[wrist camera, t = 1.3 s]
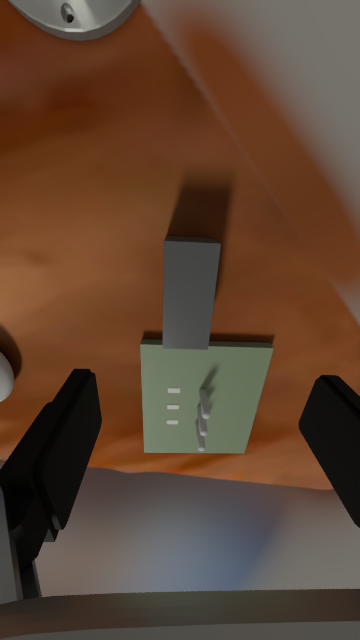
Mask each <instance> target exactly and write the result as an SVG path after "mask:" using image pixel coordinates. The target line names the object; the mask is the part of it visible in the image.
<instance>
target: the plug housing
mask: <svg viewBox="0 0 360 640" xmlns="http://www.w3.org/2000/svg"><path fill="white" fill-rule="evenodd" d="M220 248H221V243H219V242H217V241H216V240H214V239H212V238H205V237H184V236H166V238H165V240H164V285H163V349H199V350H208V345H209V337H210V329H211V321H212V313H213V305H214V297H215V288H216V280H217V272H218V264H219V256H220Z"/></svg>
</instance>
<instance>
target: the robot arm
mask: <svg viewBox="0 0 360 640" xmlns="http://www.w3.org/2000/svg"><path fill="white" fill-rule="evenodd" d="M140 1H141V0H8V2H9V3H10V4H11V5H12V6H13V7H15V8H16V9H17V10H18V11H19V12H20V13H21V14H22V15H23V16H24V17H25V18H26V19H27V20H29V21H30V22H32V23H33V24H35V25H36V26H38V27H39V28H41V29H42V30H44V31H45V32H48V33H50V34H53V35H55V36H57V37H60V38H63V39H69V40H76V41H83V40H92V39H97V38H99V37H102V36H104V35H106V34H109V33H111V32H112V31H114V30H115V29H116V28H118V27H119V26H120V25H121V24H123V23H124V22H125V21H126V20H127V19H128V18H129V16H130V15H131V14H132V12H133V11H134V10H135V9H136V7H137V6H138V5H139V3H140ZM72 19H74V20H73V21H72V22H71V23H70V21H71V20H72ZM101 423H102V417H101V411H100V404H99V397H98V390H97V383H96V377H95V373H91V370H90V369H74V370H73V371H72V372H71V374H70V375H69V377H68V378H67V380H66V381H65V383H64V385H63V386H62V388H61V389H60V391H59V392H58V394H57V395H56V397H55V398H54V400H53V401H52V402H49V403H47V404H46V405H45V406H44V407H43V409H42V410H41V412H40V413H39V414H38V416H37V417H36V419H35V420H34V422H33V423H32V425H31V426H30V427H29V429H28V430H27V432H26V433H25V435H24V436H23V438H22V439H21V440H20V442H19V443H18V445H17V446H16V448H15V449H14V451H13V452H12V454H11V455H10V456H9V458H8V459H7V461H6V462H5V464H4V465H3V467H2V468H1V469H0V640H360V589H311V590H310V589H309V590H249V591H248V590H247V591H197V592H194V591H193V592H152V593H151V592H147V593H112V594H89V595H67V596H50V597H42V594H41V589H40V584H39V580H38V574H37V569H36V564H35V558H36V557H37V556H38V554H39V551H40V549H41V546H42V544H43V542H55V540H56V537H57V534H58V532H59V530H63V529H64V528H65V526H66V524H67V521H68V519H69V516H70V513H71V510H72V507H73V505H74V502H75V499H76V496H77V493H78V490H79V487H80V485H81V482H82V479H83V476H84V473H85V471H86V468H87V465H88V462H89V459H90V456H91V454H92V451H93V448H94V445H95V442H96V439H97V437H98V434H99V431H100V428H101ZM299 429H300V431H301V433H302V435H303V437H304V438H305V440H306V442H307V443H308V445H309V447H310V449H311V450H312V452H313V454H314V455H315V457H316V459H317V460H318V462H319V464H320V466H321V467H322V469H323V471H324V472H325V474H326V476H327V477H328V479H329V481H330V483H331V484H332V486H333V488H334V489H335V491H336V492H337V494H338V496H339V498H340V500H341V501H342V503H343V505H344V506H345V508H346V510H347V511H348V513H349V515H350V517H351V518H352V520H353V521H354V523H355V524H356V525H357V526H358V527H359V528H360V396H359V395H358V394H357V393H355V392H354V391H353V390H352V389H351V388H350V387H349V386H348V385H347V384H346V383H345V382H344V381H343V380H342V379H341V378H340V377H339V376H336V375H321V376H320V377H319V378H318V379H316V381H315V383H314V386H313V388H312V391H311V393H310V395H309V398H308V400H307V403H306V405H305V408H304V410H303V413H302V415H301V418H300V420H299Z"/></svg>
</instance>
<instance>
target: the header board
mask: <svg viewBox="0 0 360 640" xmlns="http://www.w3.org/2000/svg"><path fill="white" fill-rule="evenodd" d="M140 347H141V375H142V403H143V430H144V453H245V450H246V446H247V442H248V439H249V435H250V432H251V428H252V424H253V421H254V417H255V414H256V410H257V407H258V403H259V399H260V396H261V392H262V389H263V385H264V381H265V378H266V374H267V371H268V367H269V363H270V360H271V356H272V353H273V349H274V348H273V346H272V345H271V344H270V343H258V342H223V341H209V345H208V350H199V349H163V340H154V339H142V340H141V344H140Z"/></svg>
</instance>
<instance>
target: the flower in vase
mask: <svg viewBox="0 0 360 640" xmlns="http://www.w3.org/2000/svg"><path fill="white" fill-rule="evenodd" d="M13 385H14V374H13V370H12V367H11V365H10V363H9V361H8V360H7V359H6V357H5V356H4V355H3V354H2V353H1V352H0V402H1V401H3V400H4V399H6V398H7V397H8V396H9V395H10V393H11V391H12V389H13Z"/></svg>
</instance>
